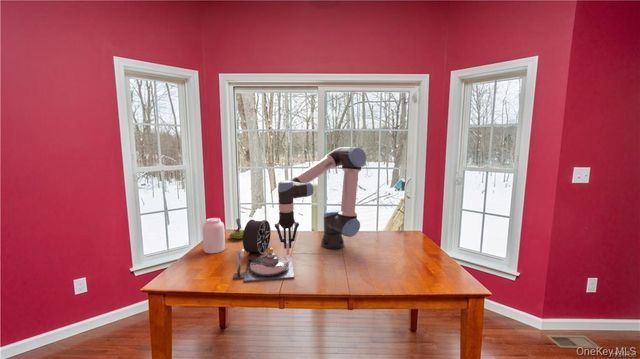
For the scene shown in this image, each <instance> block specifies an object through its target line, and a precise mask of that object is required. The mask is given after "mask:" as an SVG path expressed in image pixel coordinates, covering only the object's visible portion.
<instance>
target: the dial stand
mask: <svg viewBox="0 0 640 359" xmlns="http://www.w3.org/2000/svg"><path fill="white" fill-rule="evenodd" d="M241 259H242V260H244V259H245V249H240V250H239V251H236V272H234V274H233V277H232V280H244V277H245V273H246V271H244V272H242V270H241Z"/></svg>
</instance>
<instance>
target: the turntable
mask: <svg viewBox="0 0 640 359" xmlns="http://www.w3.org/2000/svg"><path fill="white" fill-rule="evenodd" d="M273 249H274V248H273V247H270V246H269V247H268V248H267V250H266V254H267V253H274V250H273ZM277 256H278V259H279V263H278V264H277V265H275V266H265V265H263V257H264V256H261V257H258V258H254V259H255V260H254V261H252V262H251V264H250V270H251V272H252V273H254V274H256V275H260V276H273V275H277V274H281V273H283V272H285V271H286V270H287V269H288V268H289V261H288V260H287V259H286V258H284V256H280V255H277Z"/></svg>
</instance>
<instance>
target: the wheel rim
mask: <svg viewBox="0 0 640 359" xmlns="http://www.w3.org/2000/svg"><path fill="white" fill-rule="evenodd" d="M271 230H272V228H271V225H270V222H269V221H268V220H266V219H264V220H254V219H249V220H248V221H247V223H246V224H245V227H244V230H243V231H244V233H243V238H242V246H243V250H244V252H245V253H253V252H254V253H258V254H260V255H263V254H265V253H267V248H269V247H270V246H269V245H270V241H271V235H272V234H271Z"/></svg>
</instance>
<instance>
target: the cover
mask: <svg viewBox="0 0 640 359" xmlns="http://www.w3.org/2000/svg"><path fill="white" fill-rule="evenodd" d="M278 256H279V255H277V254H275V252H273V253H267V252H266V255H264V256H262V257H263V265H265V266H275V265H277V264H278V263H279V259H278Z"/></svg>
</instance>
